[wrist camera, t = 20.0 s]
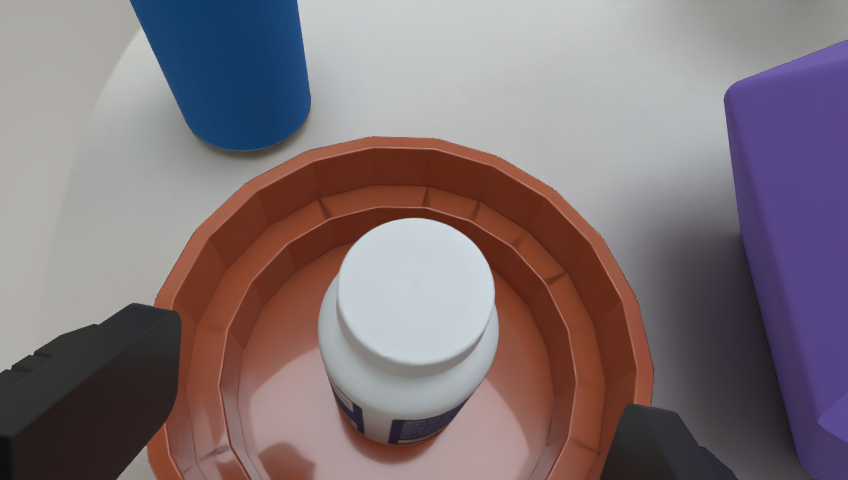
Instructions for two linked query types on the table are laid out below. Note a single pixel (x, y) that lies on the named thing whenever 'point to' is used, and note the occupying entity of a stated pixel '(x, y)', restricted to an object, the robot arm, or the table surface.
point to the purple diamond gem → (799, 238)
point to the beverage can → (232, 67)
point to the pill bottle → (408, 330)
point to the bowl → (309, 281)
